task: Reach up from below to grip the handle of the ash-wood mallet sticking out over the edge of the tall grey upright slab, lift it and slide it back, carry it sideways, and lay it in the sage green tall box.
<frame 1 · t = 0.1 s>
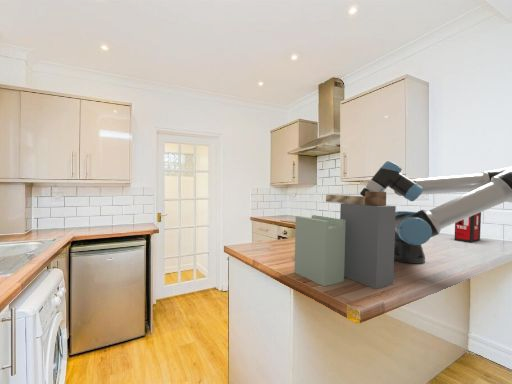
hand: (342, 227, 123), 15 cm above the worktop, tool tilted 35°, fingers open, 13 cm apart
cleaning product box: (467, 240, 173), on the worktop
sage green tall box: (318, 276, 98), on the worktop
mallet: (352, 203, 101), point 28 cm above the worktop, touching tall grey upright slab
tall grey upright slab: (364, 278, 96), on the worktop
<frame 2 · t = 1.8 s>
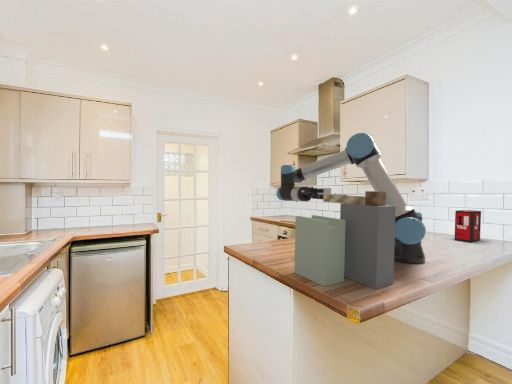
hand: (338, 194, 116), 31 cm above the worktop, tool horizontal, fingers open, 13 cm apart
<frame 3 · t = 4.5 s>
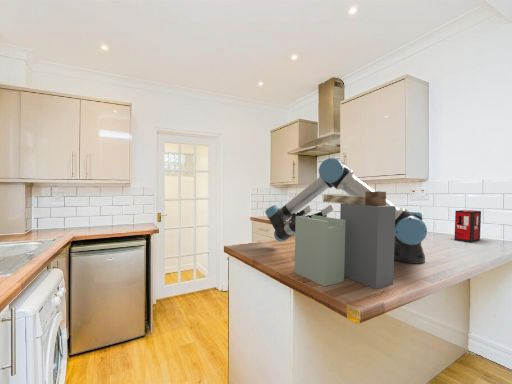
hand: (321, 207, 115), 25 cm above the worktop, tool pointing upward, fingers open, 13 cm apart
nothing on the worktop moved.
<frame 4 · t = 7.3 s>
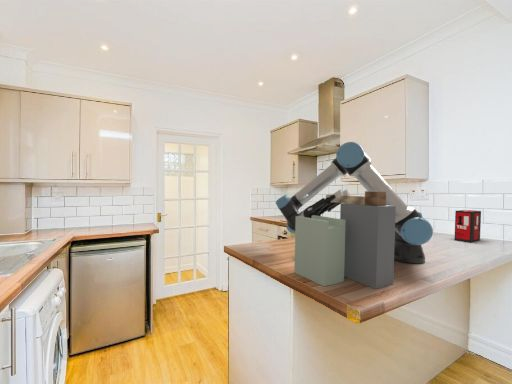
hand: (344, 192, 104), 32 cm above the worktop, tool pointing upward, fingers closed on mallet, 3 cm apart
mallet: (352, 203, 101), point 28 cm above the worktop, touching gripper, tall grey upright slab
everything else where it was.
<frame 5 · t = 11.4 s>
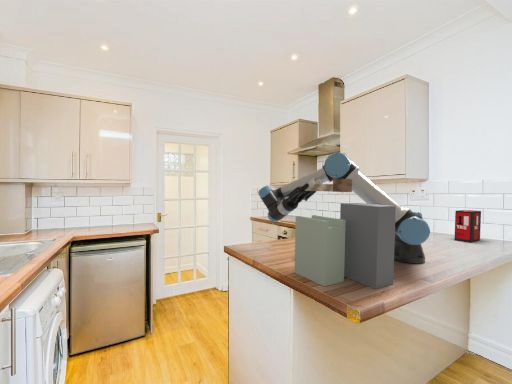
hand: (317, 181, 111), 37 cm above the worktop, tool pointing upward, fingers closed on mallet, 3 cm apart
mallet: (323, 191, 108), point 33 cm above the worktop, touching gripper
everything else where it was.
when the fingers open (26 cm above the worktop, at t = 15.5 s): mallet drops 1 cm, resting on sage green tall box.
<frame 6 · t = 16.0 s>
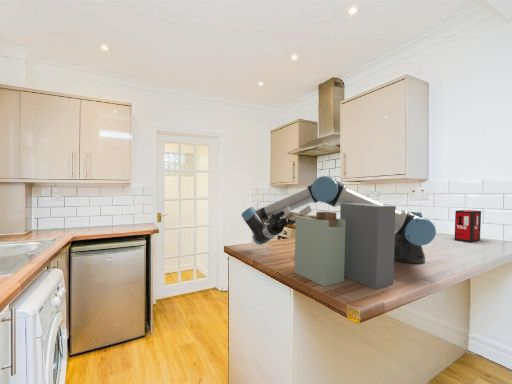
hand: (299, 208, 107), 25 cm above the worktop, tool pointing upward, fingers open, 10 cm apart
mallet: (307, 222, 103), point 20 cm above the worktop, touching sage green tall box
everything else where it was.
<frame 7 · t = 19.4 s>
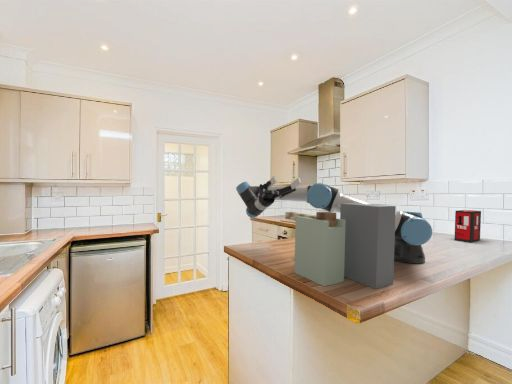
hand: (287, 179, 114), 38 cm above the worktop, tool pointing upward, fingers open, 13 cm apart
nothing on the worktop moved.
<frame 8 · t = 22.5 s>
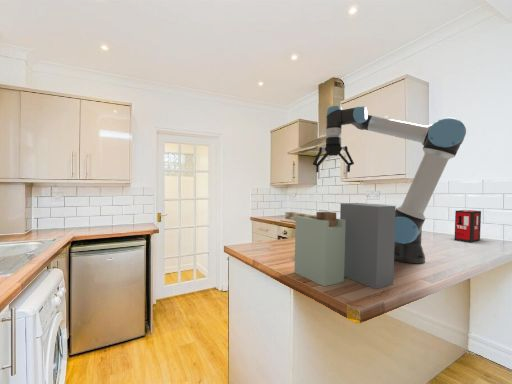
hand: (332, 178, 132), 39 cm above the worktop, tool pointing down, fingers open, 13 cm apart
nothing on the worktop moved.
at the end: mallet inside the target area on the sage green tall box (0.6 cm from its centre), point 20.0 cm above the sage green tall box's base; mallet touching sage green tall box; the gripper is holding nothing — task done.
